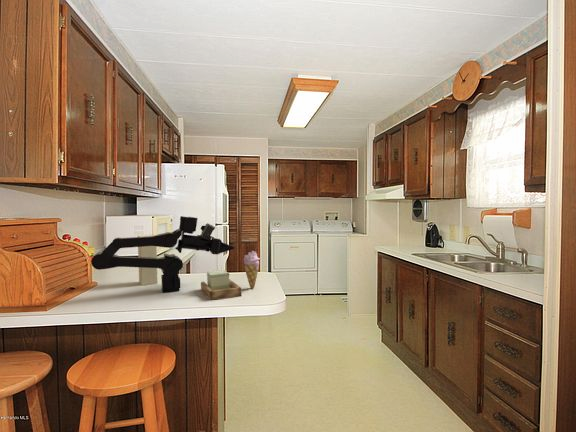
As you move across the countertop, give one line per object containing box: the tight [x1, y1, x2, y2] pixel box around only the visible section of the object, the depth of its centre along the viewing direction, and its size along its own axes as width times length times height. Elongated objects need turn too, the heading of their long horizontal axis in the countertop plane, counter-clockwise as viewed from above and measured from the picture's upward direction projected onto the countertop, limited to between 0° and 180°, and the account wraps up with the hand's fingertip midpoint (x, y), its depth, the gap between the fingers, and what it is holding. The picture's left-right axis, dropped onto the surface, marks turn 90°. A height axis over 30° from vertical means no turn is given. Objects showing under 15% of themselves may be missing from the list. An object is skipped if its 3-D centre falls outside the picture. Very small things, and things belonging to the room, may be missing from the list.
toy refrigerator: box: [137, 234, 159, 286], centre depth 154 cm, size 8×7×21 cm
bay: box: [200, 278, 243, 301], centre depth 135 cm, size 11×18×3 cm, turn 24°
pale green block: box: [206, 269, 230, 290], centre depth 138 cm, size 7×7×6 cm
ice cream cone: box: [243, 250, 261, 290], centre depth 139 cm, size 7×6×15 cm
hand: (230, 246), depth 150 cm, fingers open, 9 cm apart
